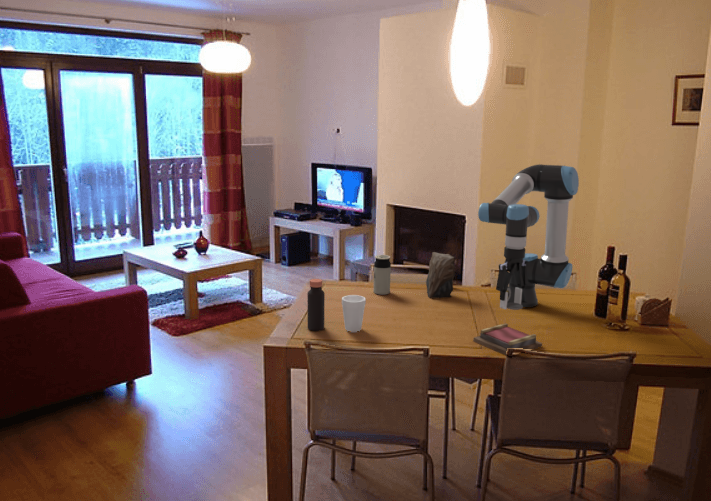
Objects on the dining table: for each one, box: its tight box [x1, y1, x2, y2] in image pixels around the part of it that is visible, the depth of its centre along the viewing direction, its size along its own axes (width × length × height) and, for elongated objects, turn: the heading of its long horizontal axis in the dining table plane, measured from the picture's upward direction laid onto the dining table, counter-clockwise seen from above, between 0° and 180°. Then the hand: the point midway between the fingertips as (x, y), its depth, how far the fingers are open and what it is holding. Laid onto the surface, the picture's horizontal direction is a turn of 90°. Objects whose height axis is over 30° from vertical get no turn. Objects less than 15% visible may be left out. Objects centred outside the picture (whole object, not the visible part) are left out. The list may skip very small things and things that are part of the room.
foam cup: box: [341, 294, 367, 333], centre depth 238 cm, size 10×9×13 cm
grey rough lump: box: [425, 251, 456, 300], centre depth 285 cm, size 13×13×20 cm
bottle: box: [306, 278, 326, 332], centre depth 237 cm, size 7×7×20 cm
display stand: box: [472, 323, 543, 356], centre depth 226 cm, size 18×18×5 cm
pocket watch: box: [506, 285, 524, 311], centre depth 223 cm, size 8×8×10 cm
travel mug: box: [372, 254, 392, 296], centre depth 287 cm, size 8×8×18 cm
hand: (510, 306), depth 223 cm, fingers closed on pocket watch, 7 cm apart
